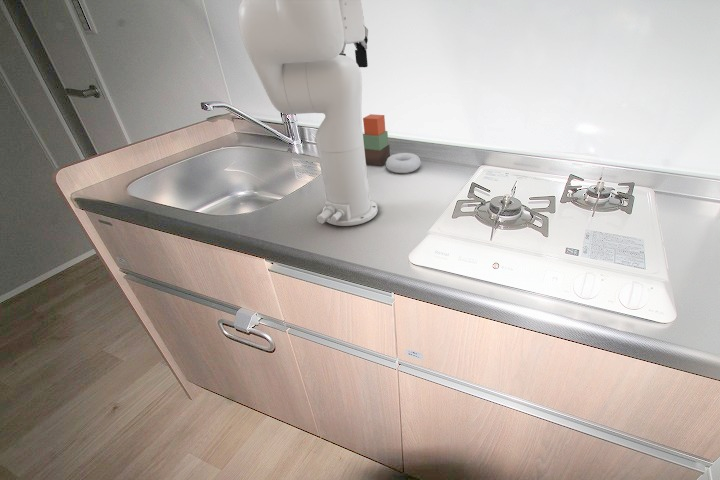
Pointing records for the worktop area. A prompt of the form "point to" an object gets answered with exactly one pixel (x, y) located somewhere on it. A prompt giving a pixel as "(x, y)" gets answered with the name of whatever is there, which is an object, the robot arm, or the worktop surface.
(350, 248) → the worktop surface
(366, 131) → the toy cube
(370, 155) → the stack base
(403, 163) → the donut
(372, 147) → the stack middle
